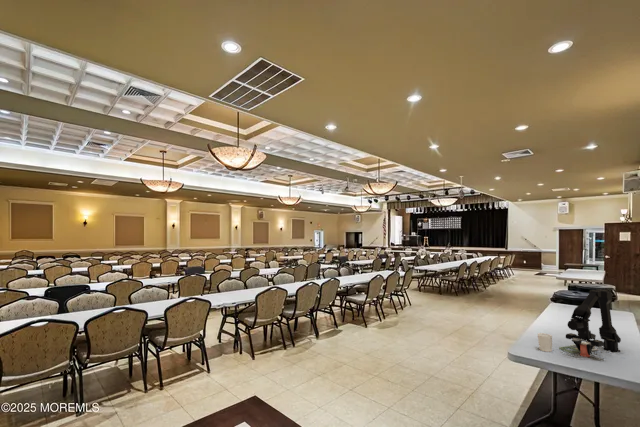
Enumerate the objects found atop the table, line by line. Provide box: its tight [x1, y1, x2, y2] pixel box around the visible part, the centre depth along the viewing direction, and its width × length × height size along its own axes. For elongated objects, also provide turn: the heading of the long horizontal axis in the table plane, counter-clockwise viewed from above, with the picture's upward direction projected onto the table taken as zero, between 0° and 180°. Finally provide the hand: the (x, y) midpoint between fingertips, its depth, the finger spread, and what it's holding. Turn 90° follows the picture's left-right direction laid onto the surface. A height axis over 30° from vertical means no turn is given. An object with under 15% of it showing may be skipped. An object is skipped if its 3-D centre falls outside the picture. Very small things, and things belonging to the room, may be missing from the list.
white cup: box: [537, 332, 553, 353], centre depth 210 cm, size 8×8×10 cm
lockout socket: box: [558, 345, 580, 354], centre depth 209 cm, size 8×11×1 cm
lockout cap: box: [579, 344, 591, 358], centre depth 200 cm, size 5×5×6 cm
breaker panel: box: [569, 344, 599, 353], centre depth 211 cm, size 11×10×1 cm
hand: (584, 353), depth 199 cm, fingers closed on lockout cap, 4 cm apart
